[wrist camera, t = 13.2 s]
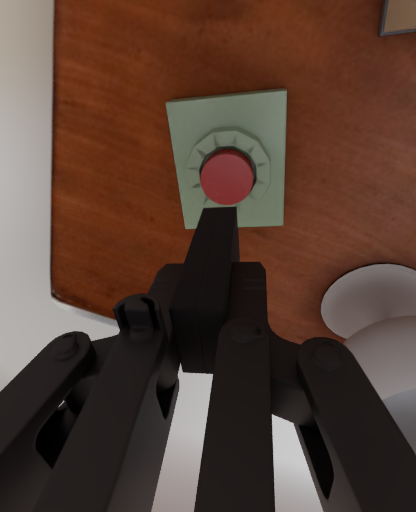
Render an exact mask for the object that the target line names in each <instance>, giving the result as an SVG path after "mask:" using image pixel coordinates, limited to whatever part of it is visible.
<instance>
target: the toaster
mask: <svg viewBox="0 0 416 512" xmlns="http://www.w3.org/2000/svg"><path fill="white" fill-rule="evenodd" d="M411 32H416V0H383V6H382V13H381V19H380V26H379V32H378V36H387V35H395V34H403V33H411Z"/></svg>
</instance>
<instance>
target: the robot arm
mask: <svg viewBox="0 0 416 512" xmlns="http://www.w3.org/2000/svg"><path fill="white" fill-rule="evenodd" d="M239 260H240V255H239V238H238V220H237V206H236V207H211V208H203V210H202V213H201V216H200V219H199V221H198V224H197V227H196V230H195V233H194V236H193V239H192V242H191V245H190V247H189V250H188V253H187V256H186V259H185V262H184V264H166V265H165V266H164V267H162V268H161V269H160V270H159V271H158V272H157V275H156V277H155V279H154V283H152V286H151V288H150V290H149V292H148V294H135V295H131V296H129V297H126V298H124V299H123V300H121V301H120V302H118V303H117V304H116V305H115V307H114V308H113V312H114V315H115V317H116V320H117V323H118V326H119V328H120V332H119V334H118V335H115V336H112V337H108V338H103V339H99V340H95V341H91V340H90V338H89V336H88V335H87V334H85V333H83V332H78V331H74V332H69V333H65V334H63V335H61V336H59V337H57V338H55V339H54V340H53V341H52V342H50V343H49V344H48V345H47V346H46V347H45V348H44V349H43V350H42V351H41V352H40V353H39V354H38V355H37V356H36V357H35V358H34V359H33V360H32V361H31V362H30V363H29V364H28V365H27V366H26V367H25V368H24V369H23V370H22V371H21V372H20V373H19V374H18V375H17V376H16V377H15V378H14V379H13V380H12V381H11V382H10V383H9V384H8V385H7V386H6V387H5V388H4V389H3V390H2V391H1V392H0V512H151V509H152V505H153V501H154V496H155V492H156V487H157V483H158V479H159V475H160V470H161V465H162V461H163V457H164V453H165V448H166V444H167V440H168V435H169V431H170V426H171V422H172V417H173V413H174V409H175V404H176V400H177V396H178V392H179V379H178V371H179V367H180V363H181V366H182V370H183V372H188V373H206V374H213V380H212V388H211V394H210V401H209V408H208V416H207V423H206V430H205V437H204V444H203V453H202V459H201V466H200V473H199V480H198V487H197V494H196V502H195V509H194V512H275V496H274V468H273V442H272V414H273V415H275V416H278V417H281V418H283V419H285V420H288V421H290V422H293V423H294V426H295V429H296V432H297V435H298V438H299V441H300V444H301V446H302V449H303V453H304V456H305V458H306V461H307V464H308V467H309V470H310V473H311V476H312V479H313V482H314V485H315V488H316V491H317V493H318V497H319V499H320V502H321V505H322V508H323V511H324V512H416V454H415V452H414V451H413V449H412V447H411V446H410V444H409V443H408V441H407V440H406V438H405V436H404V435H403V433H402V432H401V430H400V428H399V427H398V425H397V424H396V422H395V420H394V419H393V417H392V416H391V414H390V412H389V411H388V409H387V408H386V406H385V404H384V403H383V401H382V400H381V398H380V396H379V395H378V393H377V392H376V390H375V388H374V387H373V385H372V384H371V382H370V380H369V379H368V377H367V376H366V374H365V372H364V371H363V369H362V368H361V366H360V364H359V363H358V361H357V360H356V358H355V356H354V355H353V353H352V352H351V351H350V350H349V349H348V348H347V347H346V346H345V345H343V344H342V343H340V342H338V341H336V340H333V339H330V338H326V337H314V338H311V339H308V340H306V341H305V342H303V343H302V344H301V345H300V344H297V343H293V342H290V341H287V340H285V339H282V338H281V337H279V336H278V335H276V334H275V333H274V332H273V331H272V330H271V328H270V326H269V324H268V317H267V291H266V270H265V268H264V267H263V266H262V264H261V263H260V262H239ZM63 400H64V401H65V402H64V403H63V404H62V405H61V406H60V407H59V405H60V404H61V403H62V402H63Z"/></svg>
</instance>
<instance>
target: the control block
mask: <svg viewBox="0 0 416 512" xmlns="http://www.w3.org/2000/svg"><path fill="white" fill-rule="evenodd" d="M166 110H167V116H168V122H169V129H170V135H171V141H172V148H173V154H174V160H175V167H176V173H177V179H178V185H179V192H180V198H181V204H182V211H183V217H184V223H185V229H196V227H197V224H198V221H199V219H200V216H201V213H202V210H203V208H211V207H236V206H237V220H238V227H260V226H283V218H284V183H285V149H286V114H287V90H286V89H285V88H278V89H268V90H259V91H249V92H240V93H230V94H220V95H211V96H201V97H192V98H182V99H172V100H170V101H168V102H166ZM222 149H234V150H237V151H239V152H241V153H243V154H244V155H245V156H246V157H247V158H248V159H249V161H250V163H251V165H252V168H253V185H252V189H251V191H250V193H249V194H248V196H247V197H246V198H245V199H244V200H242V201H241V202H239V203H236V204H233V205H221V204H218V203H215V202H213V201H212V200H210V199H209V198H208V197H207V196H206V194H205V193H204V191H203V189H202V186H201V181H200V177H201V172H202V169H203V167H204V165H205V163H206V161H207V159H208V158H209V157H210V156H211V155H212V154H213V153H215V152H217V151H219V150H222Z"/></svg>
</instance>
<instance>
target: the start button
mask: <svg viewBox="0 0 416 512" xmlns="http://www.w3.org/2000/svg"><path fill="white" fill-rule="evenodd" d="M200 181H201V186H202V189H203V191H204V193H205V194H206V196H207V197H208V198H209V199H210V200H212V201H213V202H215V203H218V204H221V205H233V204H236V203H239V202H241V201H242V200H244V199H245V198H246V197H247V196H248V194H249V193H250V191H251V189H252V185H253V168H252V165H251V163H250V161H249V159H248V158H247V157H246V156H245V155H244V154H243V153H241V152H239V151H237V150H234V149H222V150H219V151H217V152H215V153H213V154H212V155H211V156H210V157H209V158H208V159H207V161H206V163H205V165H204V167H203V169H202V172H201V177H200Z"/></svg>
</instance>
